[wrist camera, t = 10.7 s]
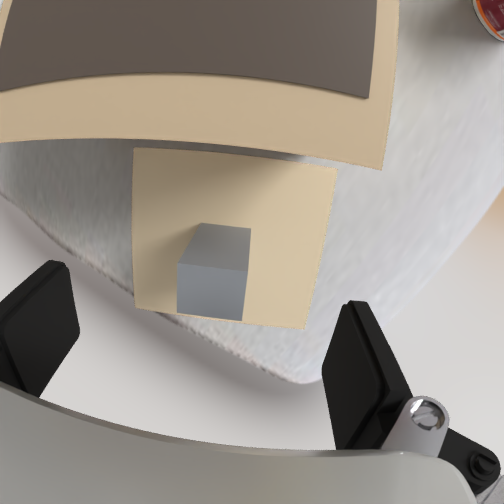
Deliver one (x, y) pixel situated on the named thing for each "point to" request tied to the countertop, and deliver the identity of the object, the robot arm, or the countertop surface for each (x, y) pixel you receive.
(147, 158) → the flap
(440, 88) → the countertop surface
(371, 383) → the robot arm
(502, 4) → the pill bottle
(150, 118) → the carton
